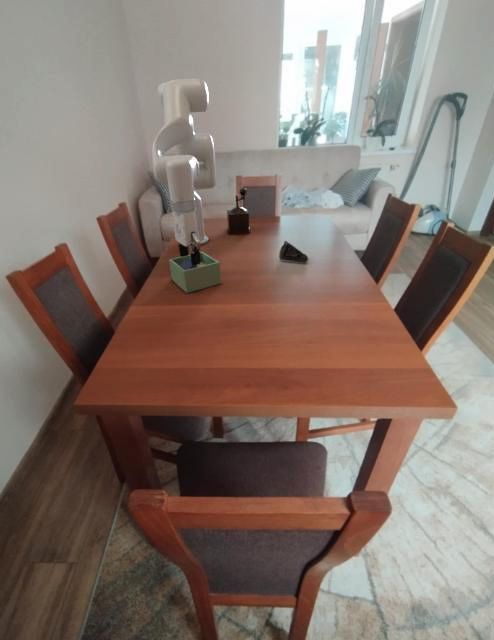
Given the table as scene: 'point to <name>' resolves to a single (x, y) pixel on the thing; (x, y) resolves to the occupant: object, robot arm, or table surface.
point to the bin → (195, 273)
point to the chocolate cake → (292, 254)
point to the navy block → (187, 264)
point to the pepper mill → (238, 217)
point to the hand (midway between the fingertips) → (190, 259)
